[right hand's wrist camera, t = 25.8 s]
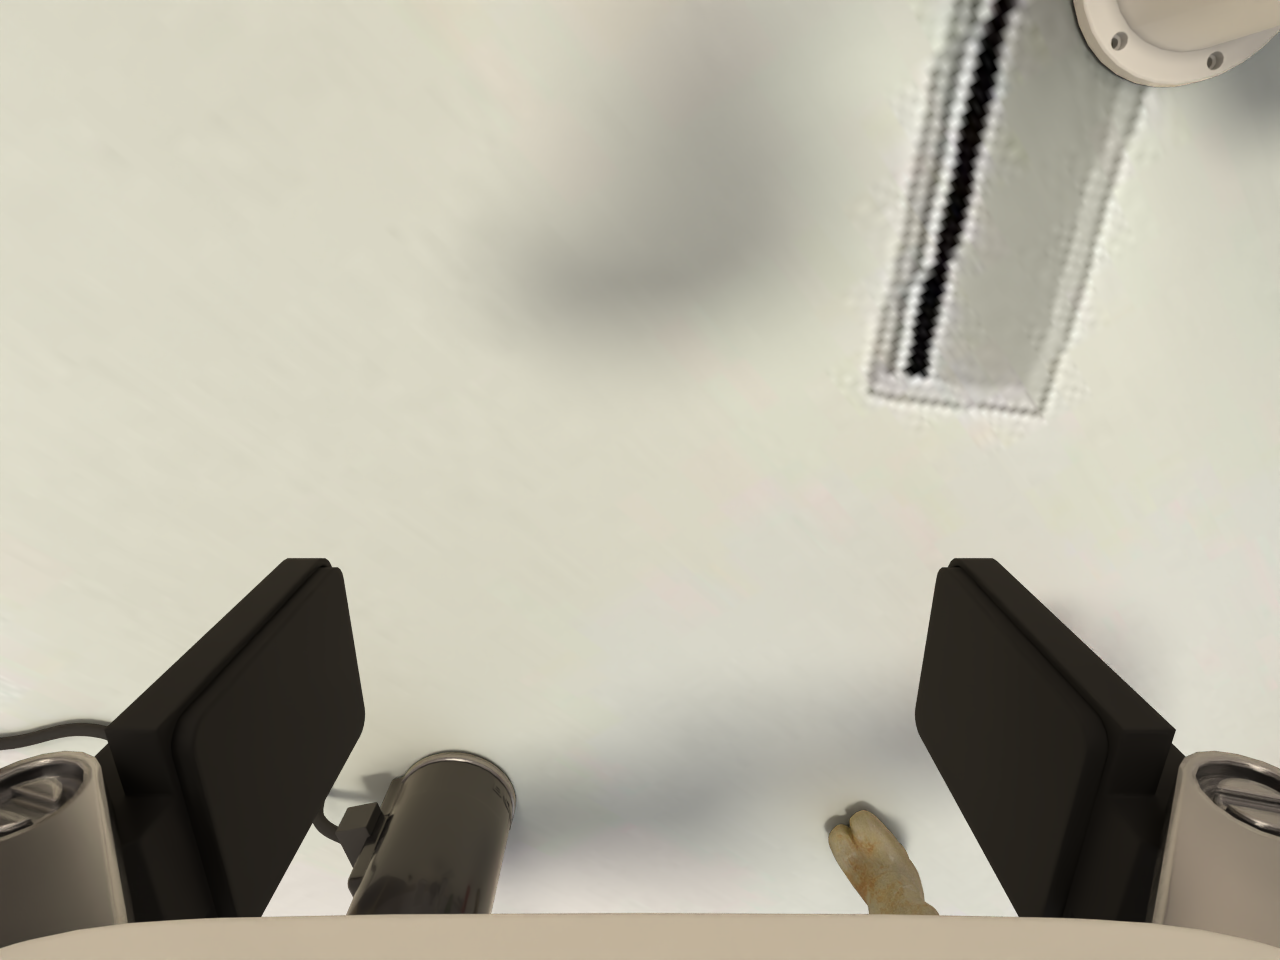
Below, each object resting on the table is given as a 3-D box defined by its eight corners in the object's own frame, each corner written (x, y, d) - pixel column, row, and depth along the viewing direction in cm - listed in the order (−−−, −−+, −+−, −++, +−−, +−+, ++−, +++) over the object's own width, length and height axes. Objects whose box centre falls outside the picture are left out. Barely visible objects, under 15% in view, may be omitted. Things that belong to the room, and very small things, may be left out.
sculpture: (871, 792, 57) (947, 980, 43) (920, 844, 59) (1008, 1040, 45) (812, 828, 58) (868, 1022, 44) (862, 878, 60) (930, 1079, 46)
